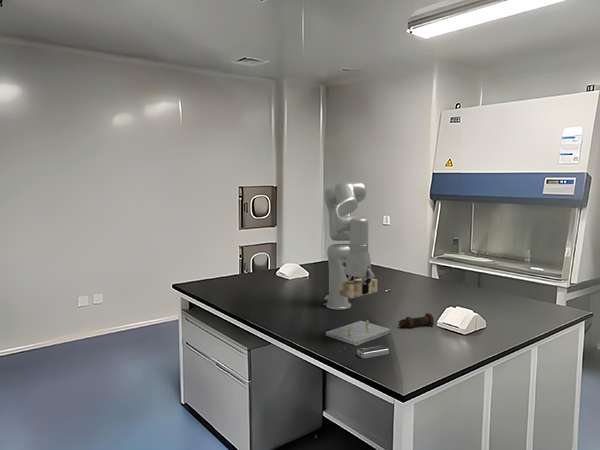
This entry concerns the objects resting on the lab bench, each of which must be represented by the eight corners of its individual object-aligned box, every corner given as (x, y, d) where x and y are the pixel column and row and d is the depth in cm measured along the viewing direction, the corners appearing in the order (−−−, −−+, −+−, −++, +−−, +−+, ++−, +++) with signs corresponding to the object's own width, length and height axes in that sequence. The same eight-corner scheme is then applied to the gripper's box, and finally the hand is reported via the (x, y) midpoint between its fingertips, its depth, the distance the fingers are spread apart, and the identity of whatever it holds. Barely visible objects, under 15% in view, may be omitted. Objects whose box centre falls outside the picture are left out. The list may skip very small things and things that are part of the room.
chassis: (326, 335, 187) (326, 324, 186) (361, 323, 201) (361, 313, 201) (355, 345, 175) (355, 334, 174) (390, 332, 190) (391, 322, 189)
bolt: (399, 331, 197) (429, 327, 201) (403, 329, 192) (435, 324, 196) (395, 318, 199) (426, 314, 203) (400, 315, 194) (431, 311, 198)
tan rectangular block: (339, 295, 184) (339, 283, 183) (365, 288, 194) (365, 277, 194) (351, 298, 179) (351, 285, 178) (377, 291, 189) (377, 279, 189)
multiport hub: (389, 354, 167) (389, 348, 166) (363, 359, 162) (363, 353, 162) (382, 350, 171) (382, 344, 170) (356, 355, 166) (356, 349, 166)
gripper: (336, 247, 189) (336, 290, 190) (369, 251, 176) (369, 297, 178) (349, 245, 194) (349, 287, 195) (381, 249, 181) (381, 294, 183)
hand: (358, 291), depth 186 cm, fingers closed on tan rectangular block, 6 cm apart
